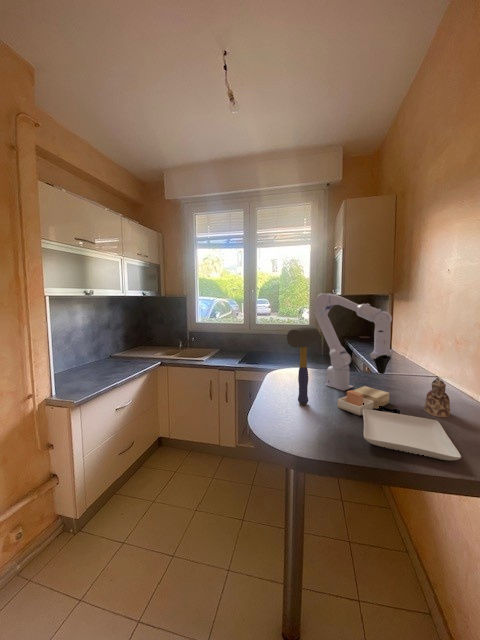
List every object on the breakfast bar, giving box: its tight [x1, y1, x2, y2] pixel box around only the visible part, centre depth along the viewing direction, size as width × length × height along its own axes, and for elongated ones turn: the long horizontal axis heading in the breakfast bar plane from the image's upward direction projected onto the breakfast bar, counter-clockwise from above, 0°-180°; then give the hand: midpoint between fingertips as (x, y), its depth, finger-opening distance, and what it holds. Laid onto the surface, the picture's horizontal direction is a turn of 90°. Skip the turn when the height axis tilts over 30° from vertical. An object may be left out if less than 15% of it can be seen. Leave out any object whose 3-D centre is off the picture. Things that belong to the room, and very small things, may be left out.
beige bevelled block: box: [351, 385, 390, 409], centre depth 101 cm, size 10×9×4 cm
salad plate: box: [362, 409, 462, 461], centre depth 74 cm, size 21×21×3 cm
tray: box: [336, 395, 374, 417], centre depth 95 cm, size 9×9×3 cm
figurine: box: [423, 377, 451, 418], centre depth 90 cm, size 7×7×12 cm
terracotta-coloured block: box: [346, 389, 363, 407], centre depth 95 cm, size 5×5×2 cm
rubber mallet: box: [286, 326, 321, 406], centre depth 98 cm, size 12×8×30 cm, turn 128°
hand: (381, 373), depth 107 cm, fingers closed
